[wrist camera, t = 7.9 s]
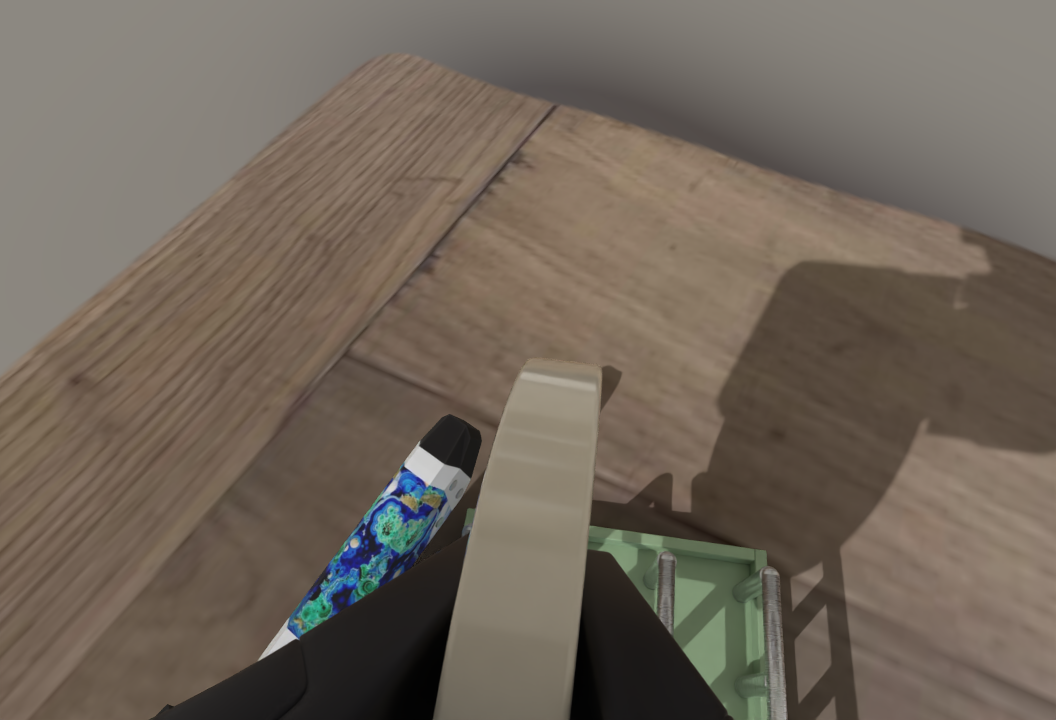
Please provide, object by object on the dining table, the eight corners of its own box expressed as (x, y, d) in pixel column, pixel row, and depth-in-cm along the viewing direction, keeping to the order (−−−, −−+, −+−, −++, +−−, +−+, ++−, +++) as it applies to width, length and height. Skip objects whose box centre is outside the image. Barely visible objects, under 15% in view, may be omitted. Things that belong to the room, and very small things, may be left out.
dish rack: (772, 990, 16) (833, 1068, 12) (393, 908, 17) (353, 957, 13) (755, 558, 21) (794, 529, 18) (471, 517, 22) (457, 483, 19)
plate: (534, 968, 12) (484, 1743, 3) (465, 953, 12) (218, 1644, 3) (587, 484, 17) (628, 227, 8) (538, 477, 17) (525, 218, 8)
